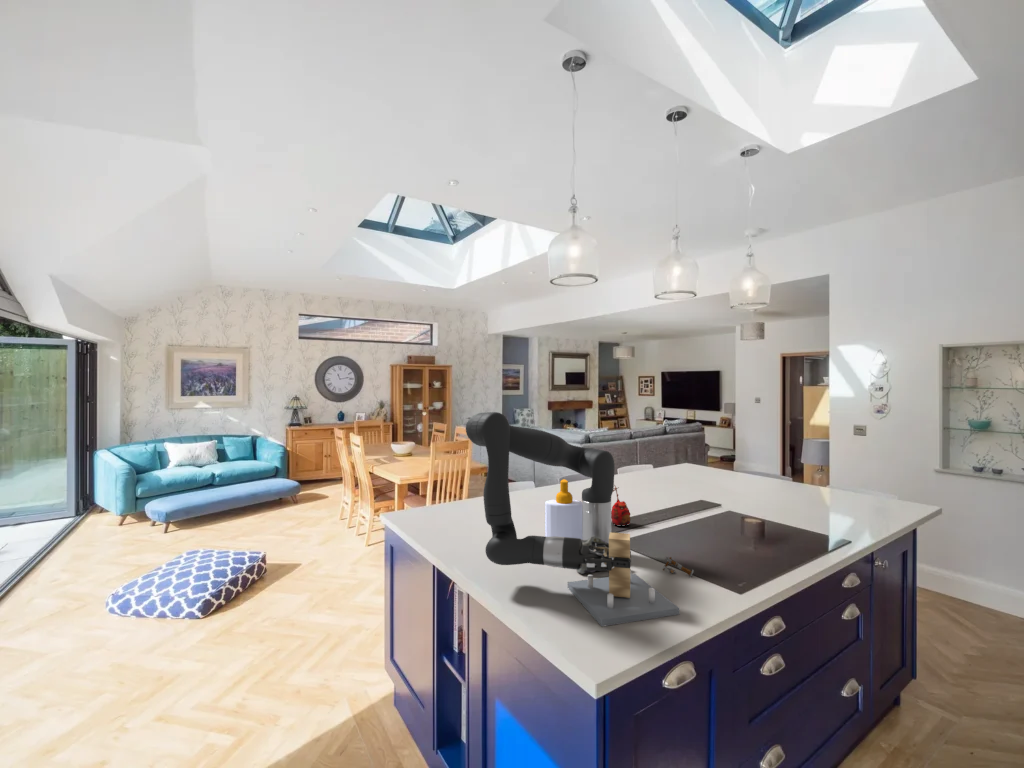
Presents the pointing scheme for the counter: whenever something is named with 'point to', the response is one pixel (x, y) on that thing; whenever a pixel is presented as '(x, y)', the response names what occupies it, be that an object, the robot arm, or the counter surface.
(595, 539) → the mineral rock
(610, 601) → the peg board
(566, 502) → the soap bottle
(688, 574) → the orange grey jointed piece
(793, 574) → the counter surface
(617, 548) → the oak post
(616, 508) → the red clay folk toy
